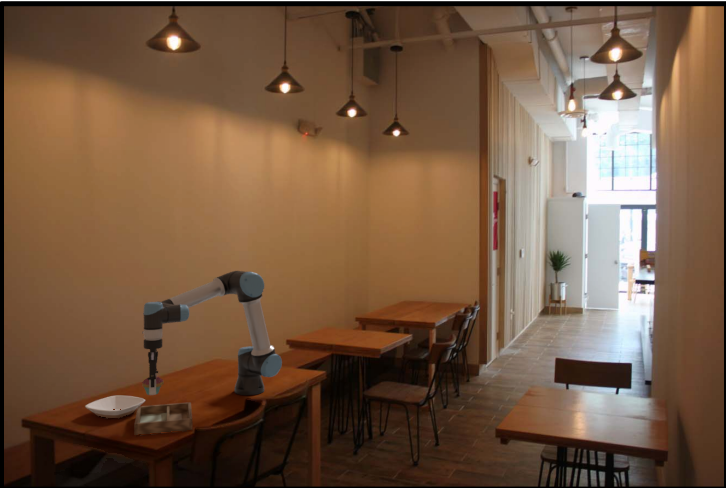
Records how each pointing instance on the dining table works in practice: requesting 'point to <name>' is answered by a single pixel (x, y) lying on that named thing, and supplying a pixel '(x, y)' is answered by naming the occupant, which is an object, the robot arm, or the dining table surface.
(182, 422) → the crate
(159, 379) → the cupcake
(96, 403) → the bowl
